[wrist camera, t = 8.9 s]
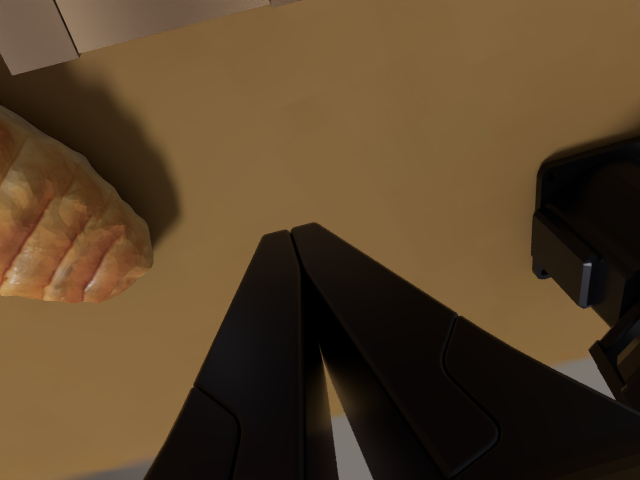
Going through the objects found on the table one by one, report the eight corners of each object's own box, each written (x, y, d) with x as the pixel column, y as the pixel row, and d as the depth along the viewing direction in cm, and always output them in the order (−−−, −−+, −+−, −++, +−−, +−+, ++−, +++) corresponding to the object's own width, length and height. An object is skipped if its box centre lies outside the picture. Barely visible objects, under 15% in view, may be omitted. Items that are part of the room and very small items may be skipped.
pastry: (189, 194, 22) (191, 249, 19) (103, 308, 24) (92, 374, 21) (-73, 49, 17) (-126, 91, 14) (-151, 207, 19) (-212, 274, 16)
